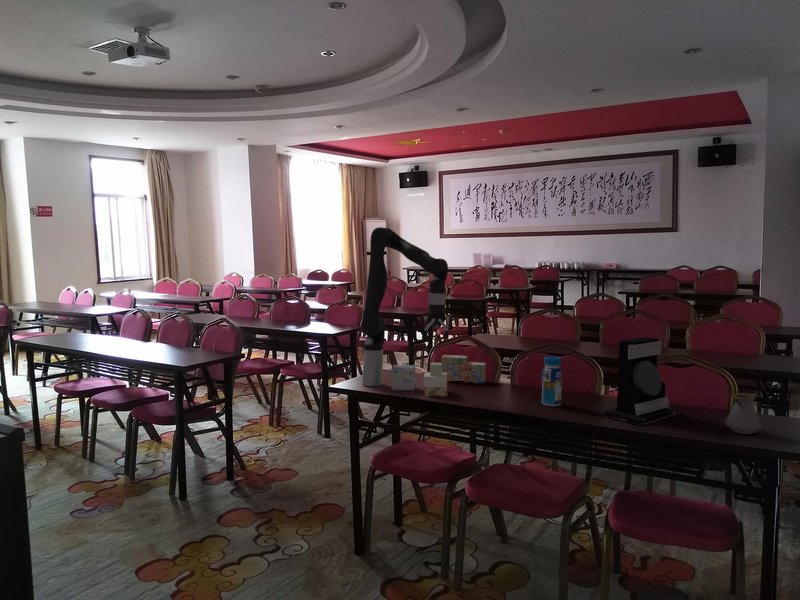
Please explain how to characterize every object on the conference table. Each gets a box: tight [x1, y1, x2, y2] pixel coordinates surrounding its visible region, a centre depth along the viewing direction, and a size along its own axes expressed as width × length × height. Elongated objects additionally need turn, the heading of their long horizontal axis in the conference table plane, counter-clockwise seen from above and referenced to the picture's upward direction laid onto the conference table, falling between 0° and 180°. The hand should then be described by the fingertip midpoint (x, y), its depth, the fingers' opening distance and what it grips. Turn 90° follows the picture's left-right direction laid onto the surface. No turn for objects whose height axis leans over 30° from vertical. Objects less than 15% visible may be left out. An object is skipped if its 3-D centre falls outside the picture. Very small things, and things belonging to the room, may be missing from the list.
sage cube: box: [429, 362, 442, 376], centre depth 272 cm, size 5×5×5 cm
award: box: [601, 336, 680, 424], centre depth 238 cm, size 30×19×30 cm, turn 126°
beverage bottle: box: [541, 355, 563, 407], centre depth 254 cm, size 8×8×20 cm
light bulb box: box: [391, 364, 416, 391], centre depth 281 cm, size 11×7×11 cm, turn 84°
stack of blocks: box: [440, 354, 487, 384], centre depth 298 cm, size 21×6×12 cm, turn 74°
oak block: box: [424, 384, 448, 397], centre depth 273 cm, size 10×10×4 cm
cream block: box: [423, 371, 448, 388], centre depth 272 cm, size 10×10×4 cm
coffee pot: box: [724, 394, 762, 433], centre depth 213 cm, size 21×12×15 cm, turn 140°
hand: (436, 339), depth 271 cm, fingers open, 8 cm apart
